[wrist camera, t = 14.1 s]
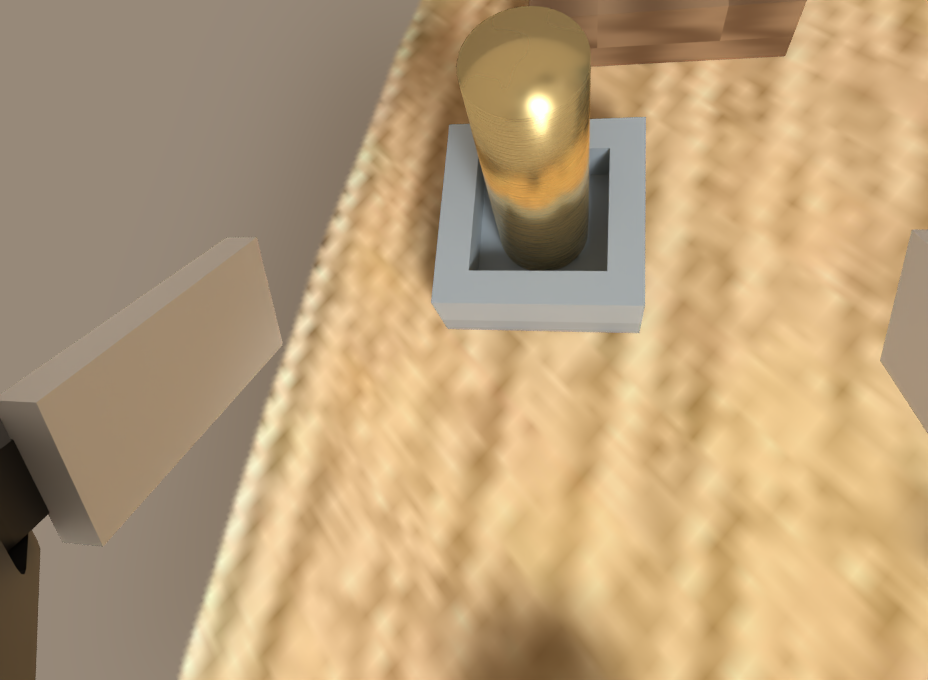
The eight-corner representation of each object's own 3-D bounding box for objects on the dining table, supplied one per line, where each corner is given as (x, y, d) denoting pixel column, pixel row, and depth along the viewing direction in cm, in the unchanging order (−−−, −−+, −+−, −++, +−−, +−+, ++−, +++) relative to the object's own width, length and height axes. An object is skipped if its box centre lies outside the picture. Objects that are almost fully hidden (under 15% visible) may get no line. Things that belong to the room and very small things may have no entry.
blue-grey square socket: (640, 161, 37) (645, 116, 33) (639, 332, 34) (644, 305, 30) (463, 165, 39) (449, 124, 35) (447, 328, 36) (431, 302, 32)
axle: (567, 179, 36) (558, -14, 24) (602, 250, 34) (613, 83, 22) (487, 212, 36) (438, 38, 24) (519, 285, 34) (484, 138, 22)
